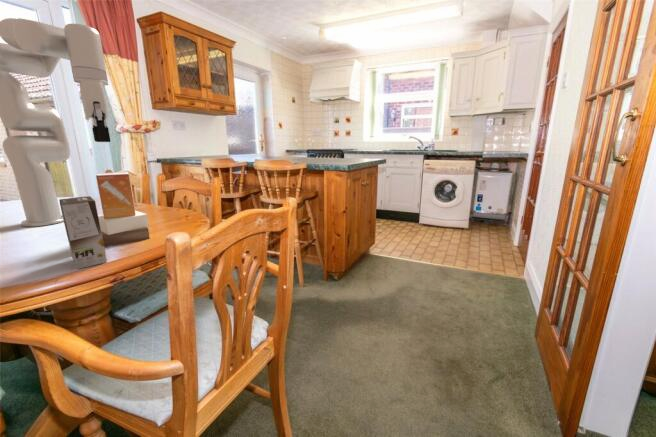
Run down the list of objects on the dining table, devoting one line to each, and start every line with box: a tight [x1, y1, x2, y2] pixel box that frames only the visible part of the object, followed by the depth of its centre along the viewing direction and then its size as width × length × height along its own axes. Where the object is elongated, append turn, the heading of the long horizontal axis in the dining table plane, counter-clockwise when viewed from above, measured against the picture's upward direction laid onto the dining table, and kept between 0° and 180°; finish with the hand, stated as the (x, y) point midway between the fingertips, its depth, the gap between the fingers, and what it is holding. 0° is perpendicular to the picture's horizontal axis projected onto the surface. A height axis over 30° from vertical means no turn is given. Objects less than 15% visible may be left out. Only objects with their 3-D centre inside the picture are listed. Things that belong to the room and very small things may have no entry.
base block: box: [101, 227, 151, 248], centre depth 94 cm, size 12×12×4 cm
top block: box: [98, 209, 150, 235], centre depth 93 cm, size 11×11×4 cm
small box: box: [95, 171, 136, 219], centre depth 90 cm, size 8×6×13 cm
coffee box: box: [58, 195, 108, 270], centre depth 74 cm, size 9×6×16 cm
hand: (102, 141), depth 85 cm, fingers open, 9 cm apart
